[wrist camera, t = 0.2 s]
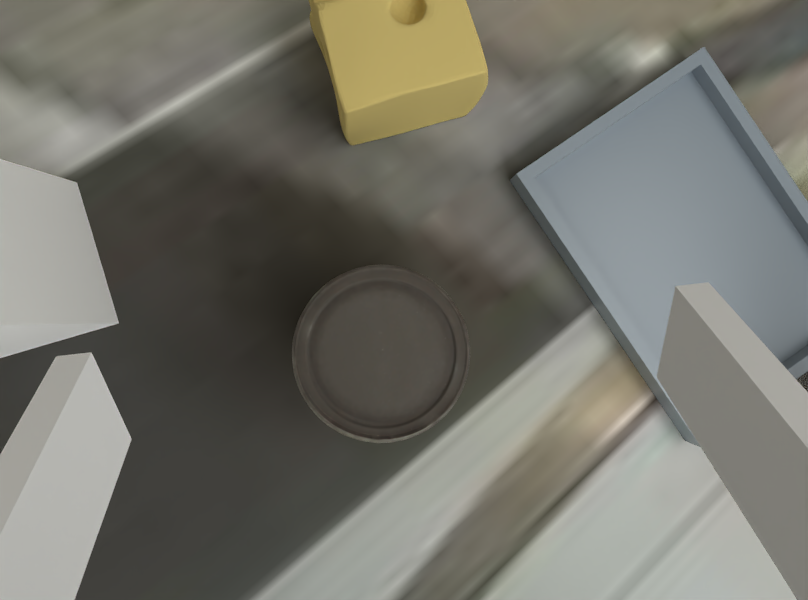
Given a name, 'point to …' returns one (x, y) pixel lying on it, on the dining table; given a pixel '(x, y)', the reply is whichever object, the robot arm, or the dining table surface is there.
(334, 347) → the coffee can
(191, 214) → the dining table surface
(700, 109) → the slate tray
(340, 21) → the cheese
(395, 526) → the dining table surface
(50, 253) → the milk
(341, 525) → the dining table surface
